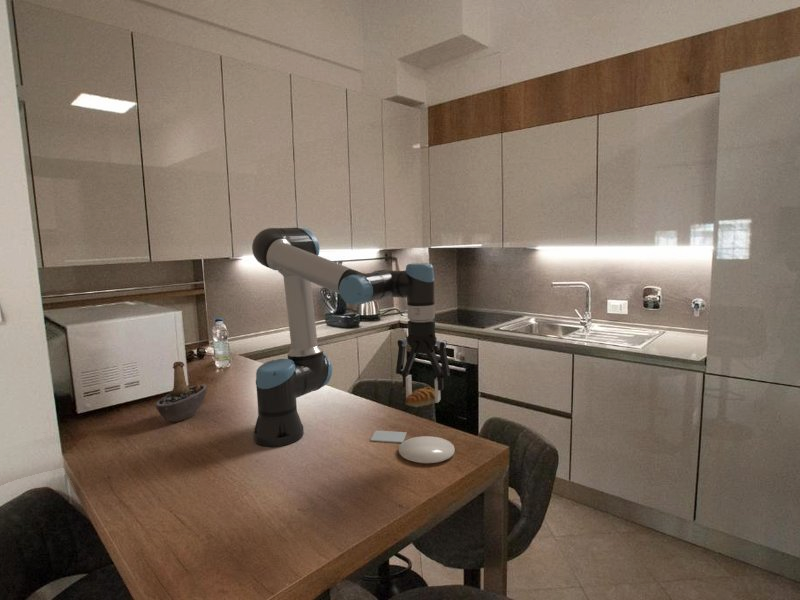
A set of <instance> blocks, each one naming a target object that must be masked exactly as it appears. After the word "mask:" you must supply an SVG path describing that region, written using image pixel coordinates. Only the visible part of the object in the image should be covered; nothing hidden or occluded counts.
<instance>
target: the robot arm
mask: <svg viewBox="0 0 800 600" xmlns="http://www.w3.org/2000/svg"><path fill="white" fill-rule="evenodd" d="M252 241H253V242H252V244H251V245H252V246H251V250H252V254H253V257H254V258H255V260H256V261H257V262H258V263H259V264H260V265H262V266H264V267H266V268H269V269H270V270H272V271H273V270H274V271H277V272H278V273H279V274H280V275H281V276H282V277H283V284H284V285H283V286H284V292H285V293H284V294H285V303H286V310H287V313H286V314H287V318H288V319H287V321H288V329H289V338H290V347H291V348H290V350H289V351H288V352H287V355H286V356H287V358H278V359H276V360H275V359H272V360H269V361H266V362H265V363H263V364H261V365H260V366H258V367H257V369H256V372H255V386H256V396H257V397H256V399H257V414H258V415H257V418H256V422H255V425H254V430H253V441H254V443H255V444H256V445H259V446H263V447H271V448H273V447H283V446H287V445H290V444H293V443H296V442H297V441H299V440H301V439H302V438H303V436H304V434H305V433H304V425H303V423H302V420H301V418H300V415H299V413H298V410H297V398H300V397H302V396H304V395H307V394H309V393H313V392H316V391H318V390H321V388H324V387H325V386H326V385H327V384H328V383H329V382H330V380H331V378H332V375H333V366H332V362H331V359H329V357H328V355H326V354H325V353H324V349H323V347H321V346H319V344H318V335H317V334H318V333H317V326H316V317H315V307H314V306H315V305H314V299H313V289H312V288H313V287H312V284H315V285H318V286H320V287H321V288H324V289H327V290H329V291H331V292H334V293H336V294H339V296H340V298H341V299H342V300H343V302H344V303H346V304H348V305H364V304H366V303H370V302H374V301H380V300H382V299H383V300H384V299H387V298H388V299H390V298H403V299H404V298H405V299H406V307H407V308H406V309H407V310H406V311H407V319H408V321H407V337H406V338H400V339H399V340H397V347H398V350H397V351H398V352H397V358H396V359H397V360H396V366H395V367H396V369H395V373H396V374H397V375H400V376H402V387H403V388H405V399H406V398H407V397H408V396H409V395H410V394H412V393H413V389H412V388H413V387H412V384H413V383H412V381H413V379H412V374H410V371H411V369H412V365H413V363H414V360H415V359H416V356H417V354H424V355H426V357H427V358H428V360H429V362H430V364H431V367H432V369H433V370H434V371H433V372H434V374H435V377H436V378H434V390H435V403H434V404H436V403H437V404H438V403H439V402H440V401H441V391H443V390H444V387H445V386H444V379H447V378H448V377H449V376H450V375H451V372H450V366H449V365H450V364H449V359H448V355H447V345H448V344H447V341H446V340H438V339H437V337H436V321H435V318H436V314H435V313H436V310H435V309H436V308H435V280H436V279H435V275H434V274H435V271H434V266H433V265H432V264H431V263H429V262H428V263H427V262H424V263H423V262H422V263H420V262H419V263H416V262H415V263H408V264H406V266H405V270H388V269H381V270H380V269H379V270H374V271H372V272H369V273H368V272H367V273H364V272H361V271H358V270H355V269H353V268H350V267H347V266H346V265H342V264H340V263H338V262H334V261H332V260H330V259H327V258H325V257H323V256H320V243H319V241H318V238H317V237H316V235H315V234H314V233H313V232H312V231H311V230H309V229H307V228H301V227H268V228H265V229H263V230H261V231H259V232H258V233H257V234H256V236H255V237H254V239H253V240H252ZM407 346H409V348H410V351H409V354H408V357H407V360H406V362H405V358H406V357H405V354H406V350H407V349H406V348H407ZM435 346H437V349H439V350H438V353H439V357H440V358H439V359H440V363H441V365H440V363H439V360H438V357H437V355H436V353H435V352H436V351H435V349H434V347H435Z"/></svg>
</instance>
